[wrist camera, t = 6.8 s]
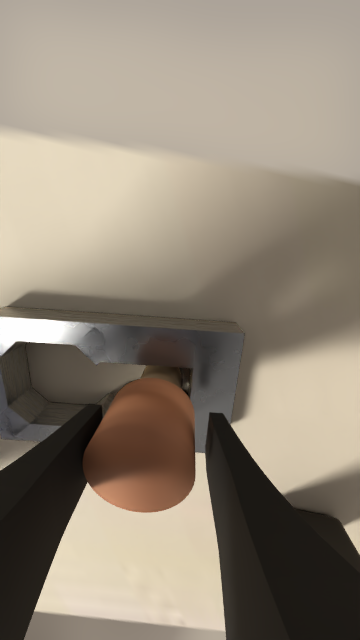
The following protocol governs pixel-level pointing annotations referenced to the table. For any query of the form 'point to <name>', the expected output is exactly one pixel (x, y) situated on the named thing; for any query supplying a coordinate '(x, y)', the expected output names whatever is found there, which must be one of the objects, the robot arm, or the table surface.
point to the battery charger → (333, 536)
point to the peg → (145, 444)
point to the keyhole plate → (115, 347)
